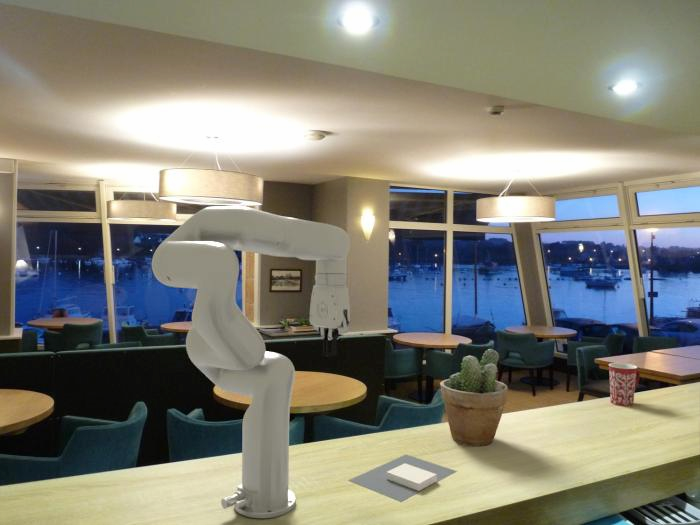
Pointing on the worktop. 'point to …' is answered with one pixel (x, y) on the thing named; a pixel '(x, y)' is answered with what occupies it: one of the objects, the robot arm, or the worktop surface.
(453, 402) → the potted plant
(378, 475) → the mat
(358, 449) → the worktop surface
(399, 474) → the tile
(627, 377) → the mug
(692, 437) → the worktop surface
